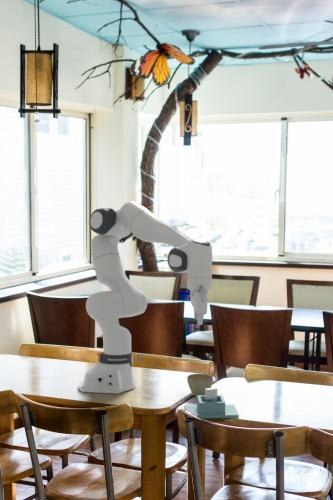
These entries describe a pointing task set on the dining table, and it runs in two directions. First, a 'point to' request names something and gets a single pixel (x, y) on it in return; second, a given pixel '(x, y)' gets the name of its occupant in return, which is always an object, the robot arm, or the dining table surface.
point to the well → (212, 408)
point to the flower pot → (199, 383)
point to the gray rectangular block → (211, 395)
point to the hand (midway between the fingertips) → (198, 321)
